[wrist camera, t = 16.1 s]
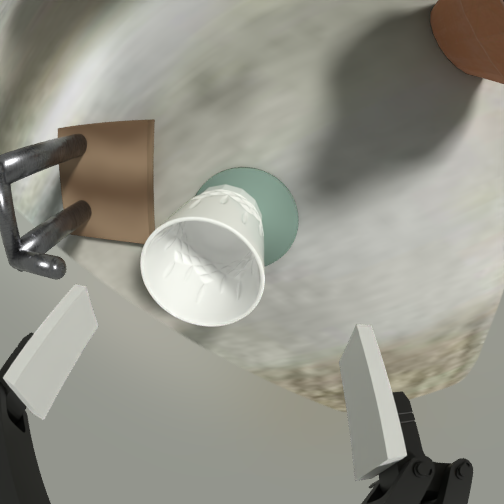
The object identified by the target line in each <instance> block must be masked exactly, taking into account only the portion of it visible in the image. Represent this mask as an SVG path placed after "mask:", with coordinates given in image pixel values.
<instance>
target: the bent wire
mask: <svg viewBox="0 0 504 504" xmlns="http://www.w3.org/2000/svg"><path fill="white" fill-rule="evenodd" d="M86 149H87V141H86V138H85V137H84V135H82V134H74V135H69V136H65V137H60V138H56V139H52V140H48V141H44V142H41V143H37V144H34V145H30V146H27V147H23V148H20V149H17V150H14V151H11V152H8V153H5V154H2V155H0V232H1V236H2V240H3V244H4V247H5V251H6V255H7V258H8V261H9V264H10V265H11V266H12V267H13V268H16V269H17V270H19V271H21V272H22V271H26V272H30V273H33V274H37V275H40V276H44V277H48V278H52V279H60V278H62V277H63V276H64V275H65V273H66V264H65V261H64V260H63V259H62V258H60V257H58V256H53V255H48V254H45V253H46V252H47V251H48V250H49V249H51V248H52V247H53V246H55V245H56V244H57V243H58V242H60V241H61V240H62V239H64V238H65V237H66V236H68V235H69V234H70V233H72V232H73V231H74V230H76V229H77V228H78V227H80V226H81V225H82V224H84V223H85V222H87V221H88V220H89V219H90V218H91V215H92V211H91V207H90V205H89V204H88V203H87V202H86V201H84V200H79V201H77V202H76V203H74V204H72V205H70V206H69V207H67V208H65V209H64V210H62V211H60V212H59V213H57V214H56V215H54V216H52V217H51V218H49V219H48V220H46V221H44V222H43V223H41V224H40V225H38V226H37V227H35V228H34V229H32V230H31V231H29V232H28V233H27V234H25V235H24V236H22V237H21V238H20V236H19V232H18V227H17V222H16V217H15V211H14V206H13V200H12V193H11V186H10V184H11V183H13V182H16V181H18V180H20V179H22V178H25V177H27V176H29V175H32V174H34V173H37V172H39V171H42V170H44V169H47V168H49V167H52V166H54V165H57V164H60V163H63V162H65V161H68V160H71V159H74V158H77V157H80V156H82V155H83V154H84V153H85V152H86Z"/></svg>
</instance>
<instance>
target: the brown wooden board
mask: <svg viewBox="0 0 504 504" xmlns="http://www.w3.org/2000/svg"><path fill="white" fill-rule="evenodd" d="M154 122H155V120H132V121H116V122H104V123H94V124H86V125H78V126H70V127H64V128H59V129H58V138H60V137H65V136H69V135H74V134H82V135H84V137H85V138H86V141H87V149H86V152H85V153H84V154H83V155H82V156H80V157H77V158H74V159H71V160H68V161H65V162H63V163H60V164H59V171H60V183H61V192H62V201H63V208H64V209H65V208H67V207H69V206H70V205H72V204H74V203H76V202H77V201H79V200H84V201H86V202H87V203H88V204H89V205H90V207H91V211H92V215H91V218H90V219H89V220H88V221H87V222H85V223H84V224H82V225H81V226H80V227H78V228H77V229H76V230H74V231H73V232H72V233H70V234H71V235H79V236H86V237H94V238H102V239H110V240H117V241H125V242H133V243H141V244H145V242H146V240H147V239H148V237H149V236H150V235H151V234H152V233H153V231H155V223H154V192H153V152H154Z"/></svg>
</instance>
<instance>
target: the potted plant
mask: <svg viewBox="0 0 504 504" xmlns="http://www.w3.org/2000/svg"><path fill="white" fill-rule="evenodd" d="M430 23H431V27H432V31H433V35H434V37H435V39H436V41H437V43H438V45H439V47H440V48H441V50H442V51H443V52H444V54H445V55H446V57H447V58H448V59H449V60H450V61H451V62H452V63H453V64H454V65H455V66H456V67H457V68H458V69H460V70H462V71H463V72H465V73H466V74H469V75H473V76H477V77H481V78H485V79H488V80H492V81H495V82H499V83H502V84H504V0H438V2H437V3H436V4H435V5H434V7H433V9H432V11H431V18H430Z"/></svg>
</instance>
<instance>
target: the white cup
mask: <svg viewBox="0 0 504 504" xmlns="http://www.w3.org/2000/svg"><path fill="white" fill-rule="evenodd" d="M140 268H141V275H142V278H143V281H144V284H145V286H146V288H147V290H148V292H149V293H150V295H151V296H152V298H153V299H154V300H155V301H156V302H157V303H158V304H159V305H160V306H161V307H162V308H163V309H164V310H165V311H167V312H168V313H169V314H171V315H173V316H174V317H176V318H178V319H180V320H182V321H185V322H188V323H191V324H194V325H199V326H209V327H213V326H223V325H228V324H231V323H234V322H236V321H238V320H240V319H242V318H244V317H245V316H247V315H248V314H249V313H250V312H251V311H252V310H253V309H254V308H255V307H256V306H257V304H258V302H259V301H260V299H261V296H262V294H263V290H264V284H265V265H264V233H263V226H262V214H261V212H260V209H259V207H258V205H257V202H256V200H255V199H254V198H253V197H251V196H250V195H249V194H248V193H247V192H246V191H244V190H243V189H241V188H238V187H234V186H231V185H227V184H224V185H218V186H212V187H209V188H207V189H206V190H205V191H203V192H202V193H201V194H199V195H197V196H195V197H193V198H192V199H191V200H190V201H188V202H186V203H185V204H184V205H183V206H182V207H181V208H180V209H178V210H177V211H176V212H175V213H174V214H173V215H171V216H170V217H169V218H168V219H167V220H166V221H165V222H164V223H162V224H161V225H160V226H159V227H158V228H157V229H156V230H155V231H153V233H152V234H151V235H150V236H149V237H148V239H147V240H146V242H145V244H144V247H143V249H142V253H141V259H140Z"/></svg>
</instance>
